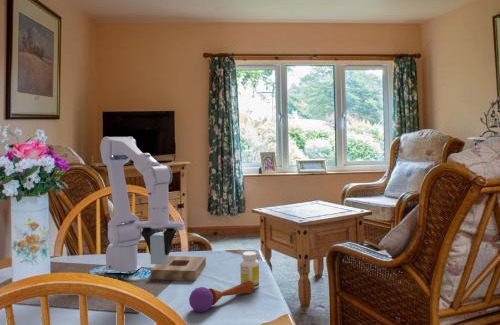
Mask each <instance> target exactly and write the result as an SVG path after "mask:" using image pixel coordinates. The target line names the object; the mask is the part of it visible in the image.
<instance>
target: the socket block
mask: <svg viewBox="0 0 500 325" xmlns="http://www.w3.org/2000/svg"><path fill="white" fill-rule="evenodd" d="M206 258H207V257H206V256H184V255H183V256H177V255H169V260H168V261H167V262H166V263H165V264H154V266H153V267H152V268H151V269H150V279H151V280H164V281H165V280H167V281H169V280H170V281H193V282H194V281H195V282H196V281H197V279H198V277H199V276H200V275H201V273H202V272H203V271H204V269H205V268H206V266H207V265H206V264H207V262H206V260H207V259H206Z"/></svg>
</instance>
